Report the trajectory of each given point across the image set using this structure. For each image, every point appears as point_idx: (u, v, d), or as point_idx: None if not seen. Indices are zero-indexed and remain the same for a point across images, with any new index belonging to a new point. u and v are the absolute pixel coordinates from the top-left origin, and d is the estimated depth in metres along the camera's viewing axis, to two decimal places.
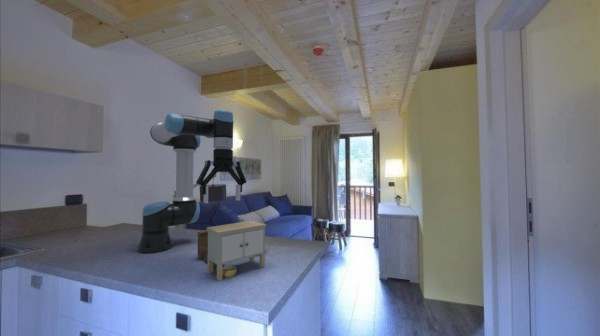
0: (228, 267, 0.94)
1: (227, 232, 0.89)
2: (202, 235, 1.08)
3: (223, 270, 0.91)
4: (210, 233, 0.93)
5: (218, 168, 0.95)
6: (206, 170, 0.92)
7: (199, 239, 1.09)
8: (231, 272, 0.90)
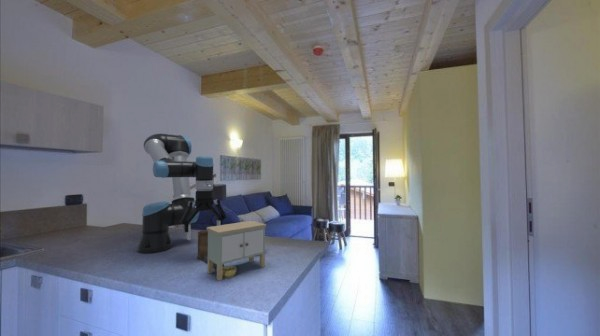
0: (228, 267, 0.94)
1: (227, 232, 0.89)
2: (202, 235, 1.08)
3: (223, 270, 0.91)
4: (210, 233, 0.93)
5: (199, 208, 1.08)
6: (188, 211, 1.05)
7: (199, 239, 1.09)
8: (232, 272, 0.90)
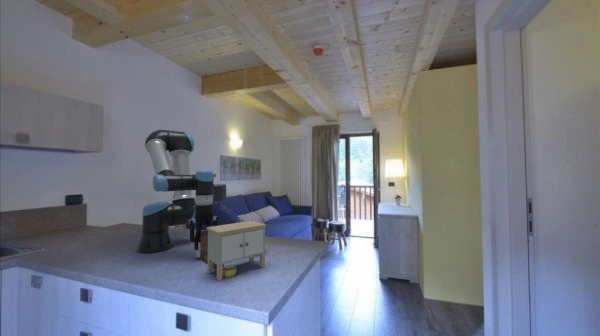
0: (227, 267, 0.94)
1: (227, 232, 0.89)
2: (202, 235, 1.08)
3: (224, 270, 0.91)
4: (210, 233, 0.93)
5: (201, 223, 1.08)
6: (193, 229, 1.06)
7: (199, 239, 1.09)
8: (233, 271, 0.91)
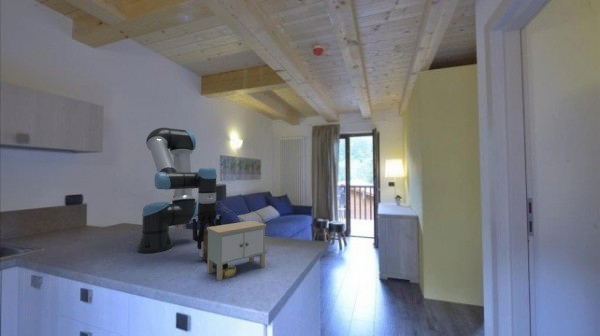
0: (225, 267, 0.93)
1: (227, 232, 0.89)
2: (205, 234, 1.06)
3: (225, 270, 0.90)
4: (210, 233, 0.93)
5: (204, 222, 1.06)
6: (195, 227, 1.04)
7: (202, 238, 1.07)
8: (234, 269, 0.92)
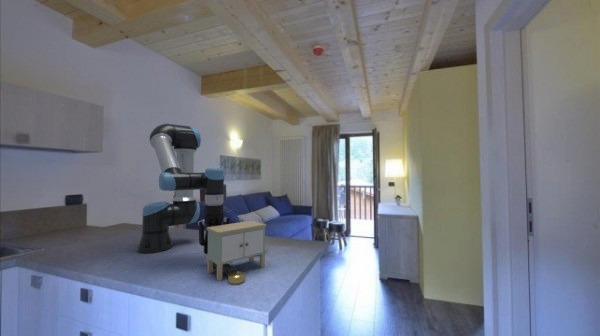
0: (234, 273, 0.88)
1: (227, 232, 0.89)
2: None
3: (234, 277, 0.85)
4: (210, 233, 0.93)
5: (211, 225, 1.00)
6: (202, 231, 0.98)
7: None
8: (244, 276, 0.86)
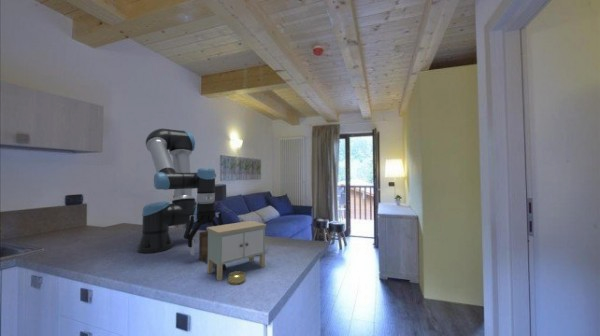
0: (234, 273, 0.88)
1: (227, 232, 0.89)
2: (204, 236, 1.07)
3: (235, 276, 0.85)
4: (210, 233, 0.93)
5: (201, 221, 1.06)
6: (191, 225, 1.04)
7: (201, 240, 1.08)
8: (244, 276, 0.87)
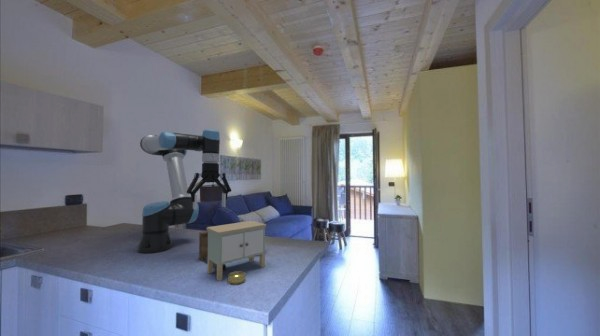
0: (234, 273, 0.88)
1: (227, 232, 0.89)
2: (204, 236, 1.07)
3: (236, 276, 0.85)
4: (210, 233, 0.93)
5: (205, 179, 1.11)
6: (195, 181, 1.08)
7: (201, 240, 1.08)
8: (244, 275, 0.87)
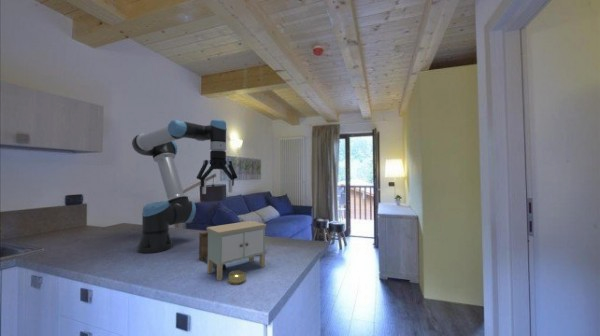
0: (233, 273, 0.88)
1: (227, 232, 0.89)
2: (204, 236, 1.07)
3: (238, 276, 0.85)
4: (210, 233, 0.93)
5: (214, 166, 1.19)
6: (204, 167, 1.16)
7: (201, 240, 1.08)
8: (245, 274, 0.88)
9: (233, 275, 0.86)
